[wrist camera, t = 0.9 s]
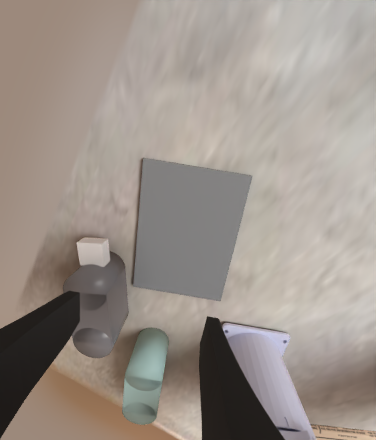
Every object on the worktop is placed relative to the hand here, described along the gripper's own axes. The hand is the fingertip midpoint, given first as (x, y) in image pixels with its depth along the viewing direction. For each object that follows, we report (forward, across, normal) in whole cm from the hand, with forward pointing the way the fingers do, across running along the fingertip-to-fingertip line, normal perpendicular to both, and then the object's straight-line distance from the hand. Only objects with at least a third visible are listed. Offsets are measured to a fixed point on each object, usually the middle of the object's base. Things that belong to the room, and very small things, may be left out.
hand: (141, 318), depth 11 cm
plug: (+10, +6, +6) cm, 13 cm away
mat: (+10, -2, -1) cm, 10 cm away
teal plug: (+10, 0, +18) cm, 21 cm away
